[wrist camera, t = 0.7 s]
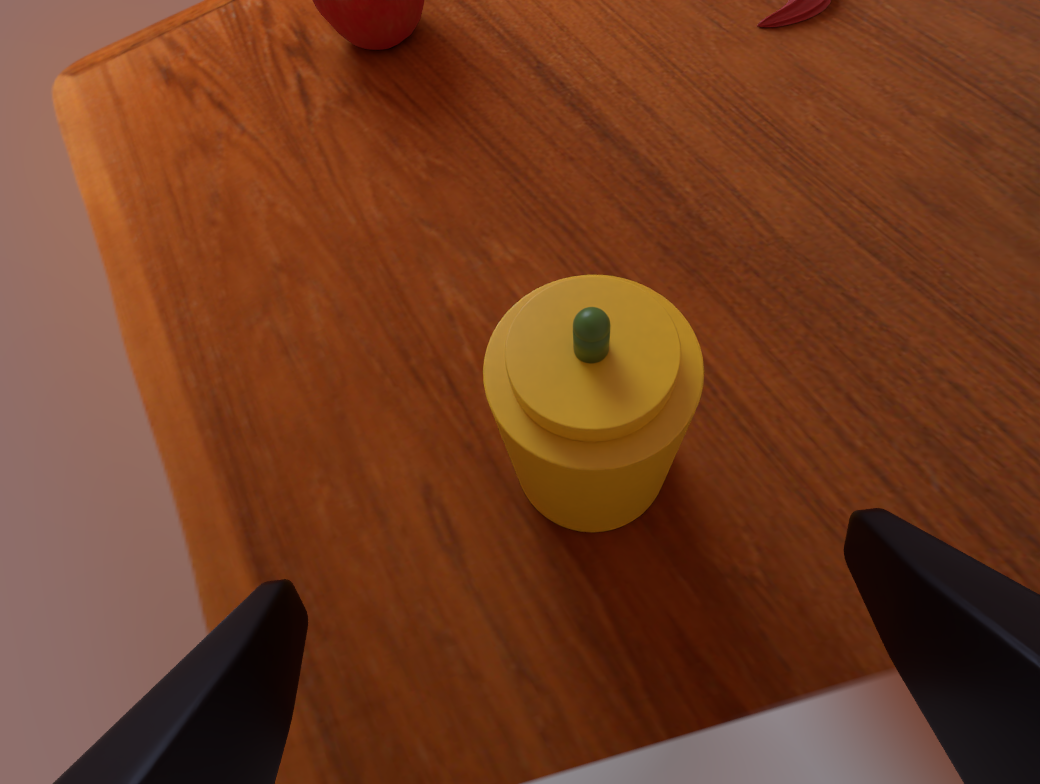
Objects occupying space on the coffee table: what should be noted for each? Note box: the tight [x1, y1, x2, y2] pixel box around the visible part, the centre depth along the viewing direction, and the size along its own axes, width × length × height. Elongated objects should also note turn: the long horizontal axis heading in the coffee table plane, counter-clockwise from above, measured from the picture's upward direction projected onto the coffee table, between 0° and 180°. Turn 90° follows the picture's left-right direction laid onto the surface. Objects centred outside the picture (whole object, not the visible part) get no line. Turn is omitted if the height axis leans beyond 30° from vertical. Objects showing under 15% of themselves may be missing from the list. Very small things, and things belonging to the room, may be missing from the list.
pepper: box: [483, 275, 704, 532], centre depth 20 cm, size 7×7×12 cm
